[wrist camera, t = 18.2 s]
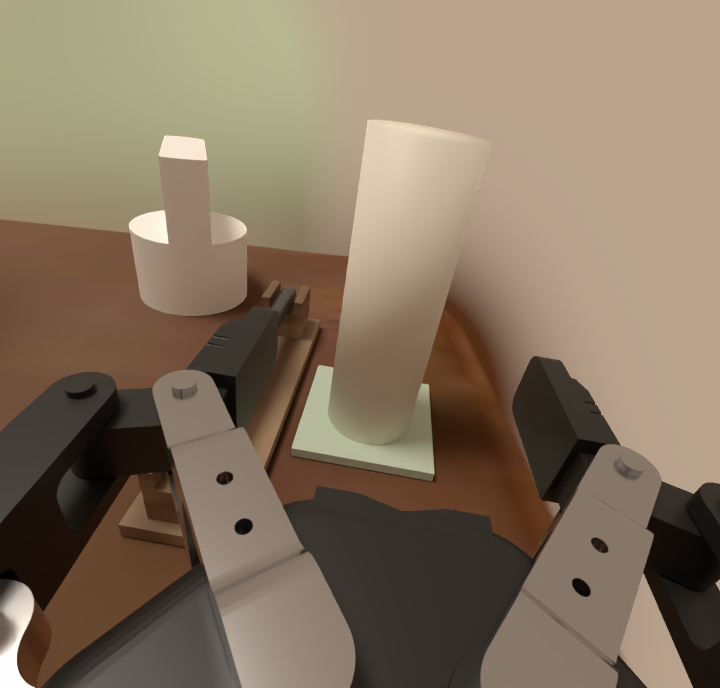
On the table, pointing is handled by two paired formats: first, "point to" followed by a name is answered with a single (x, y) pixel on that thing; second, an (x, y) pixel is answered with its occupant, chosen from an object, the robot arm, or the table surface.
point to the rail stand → (295, 342)
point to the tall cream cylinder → (399, 271)
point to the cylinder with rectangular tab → (188, 240)
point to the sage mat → (331, 446)
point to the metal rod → (284, 302)
